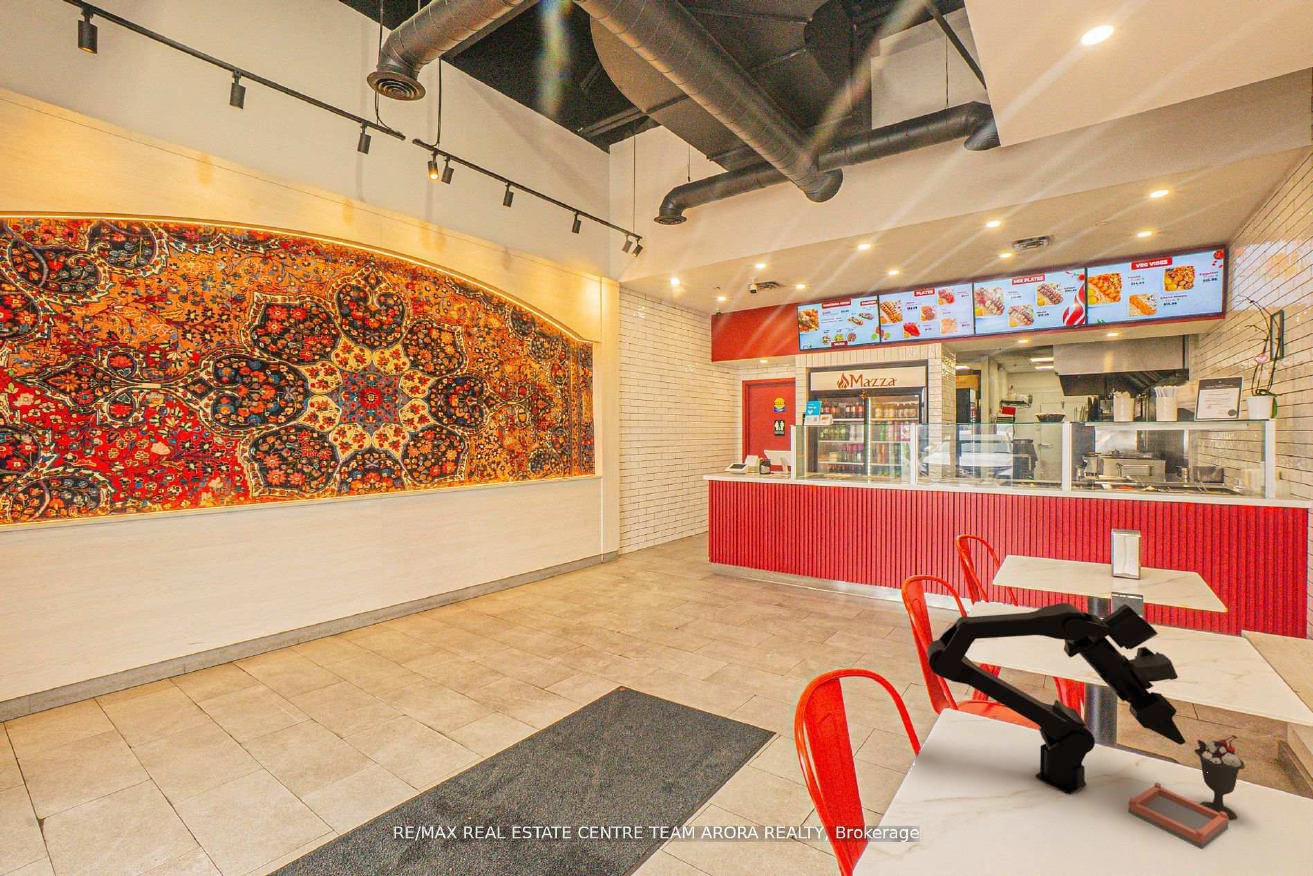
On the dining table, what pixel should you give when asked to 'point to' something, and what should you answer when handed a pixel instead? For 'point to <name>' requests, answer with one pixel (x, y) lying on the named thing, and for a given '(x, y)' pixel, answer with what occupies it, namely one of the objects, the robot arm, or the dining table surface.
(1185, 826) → the baseplate
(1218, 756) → the sundae
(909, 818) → the dining table surface
